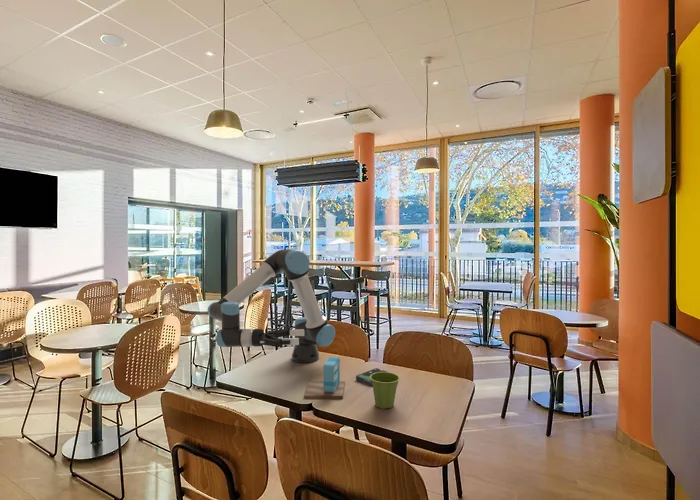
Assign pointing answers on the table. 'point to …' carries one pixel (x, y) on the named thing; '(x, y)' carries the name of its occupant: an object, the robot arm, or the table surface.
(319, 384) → the board
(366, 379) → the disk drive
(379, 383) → the plant pot
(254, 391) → the table surface
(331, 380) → the light blue box
